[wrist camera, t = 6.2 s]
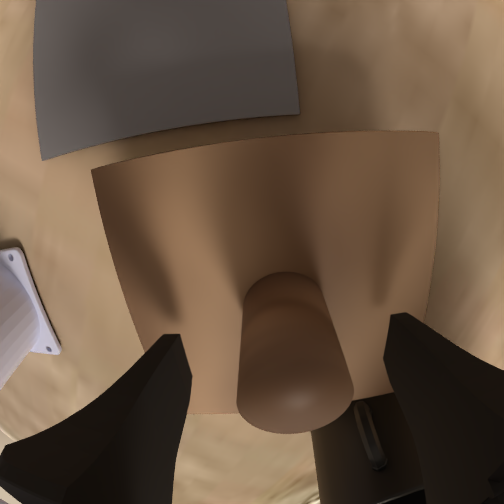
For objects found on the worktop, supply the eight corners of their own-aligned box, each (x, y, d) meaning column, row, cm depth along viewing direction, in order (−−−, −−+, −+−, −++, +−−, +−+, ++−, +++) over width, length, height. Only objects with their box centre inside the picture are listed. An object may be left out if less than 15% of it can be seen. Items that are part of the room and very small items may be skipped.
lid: (174, 402, 15) (154, 486, 10) (101, 166, 10) (3, 203, 5) (402, 378, 14) (436, 457, 9) (427, 131, 9) (530, 148, 5)
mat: (46, 159, 13) (41, 160, 13) (44, -34, 8) (41, -36, 8) (298, 114, 13) (300, 114, 12) (266, -95, 8) (266, -99, 7)
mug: (413, 327, 17) (479, 440, 9) (428, 417, 21) (462, 498, 13) (275, 386, 19) (282, 513, 10) (330, 457, 23) (344, 543, 14)
